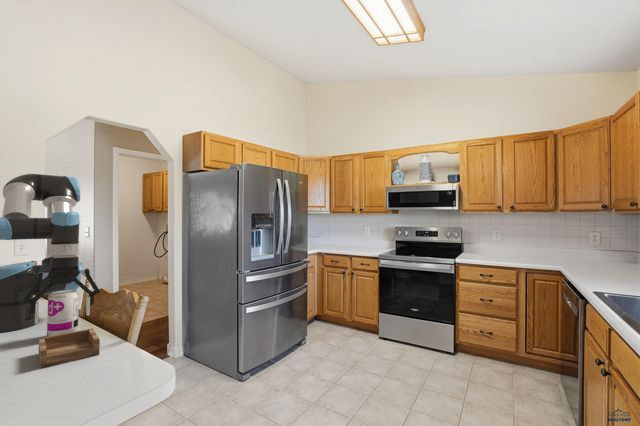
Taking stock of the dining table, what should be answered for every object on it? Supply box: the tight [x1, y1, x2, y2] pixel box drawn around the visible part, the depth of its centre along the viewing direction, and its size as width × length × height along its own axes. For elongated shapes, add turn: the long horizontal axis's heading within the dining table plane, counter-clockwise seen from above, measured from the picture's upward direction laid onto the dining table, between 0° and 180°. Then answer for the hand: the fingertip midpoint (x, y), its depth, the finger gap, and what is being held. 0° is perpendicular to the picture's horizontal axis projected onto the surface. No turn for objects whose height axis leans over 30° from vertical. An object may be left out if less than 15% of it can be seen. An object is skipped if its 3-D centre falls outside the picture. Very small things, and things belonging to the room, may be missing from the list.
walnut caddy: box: [38, 328, 101, 369], centre depth 93 cm, size 13×13×4 cm
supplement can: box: [46, 290, 80, 337], centre depth 107 cm, size 8×8×15 cm
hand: (63, 318), depth 107 cm, fingers open, 13 cm apart
